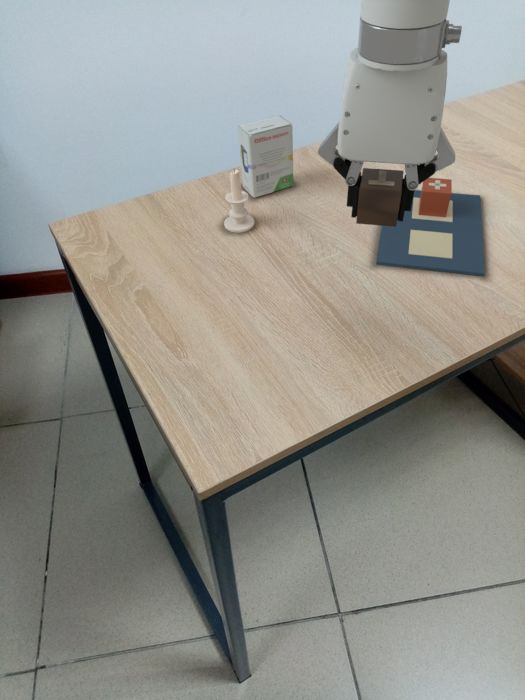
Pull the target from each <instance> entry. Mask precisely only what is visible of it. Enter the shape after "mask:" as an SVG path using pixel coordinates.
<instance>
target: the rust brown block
mask: <svg viewBox="0 0 525 700" xmlns="http://www.w3.org/2000/svg"><path fill="white" fill-rule="evenodd" d="M452 182H453V181H452V179H451V178H438V177H437V178H436V177H429V178H428V179H426V180H425V181H423V182H422V186H421V190H420V191H421V196H420V201H419V214H418V215H426V216H437V217H446V215H447V210H448V206H449V202H450V198H451V194H452V193H453V192H452V190H453V189H452V184H453V183H452Z"/></svg>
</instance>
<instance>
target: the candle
mask: <svg viewBox="0 0 525 700" xmlns="http://www.w3.org/2000/svg"><path fill="white" fill-rule="evenodd" d="M229 179H230V180H229V181H230V192H228V193H226V194H225V197H224V198H225V200H226V202H228V203H230V207H231V209H230V210H229V211H228V216H227V217H226V218H225V220H224V222H223V225H224V228H225V229H226V230H227V231H229V232H231V233H236V234H242V233H246V232H248V231H250V230H251V229H253V228H254V226H255V218H254V217H253V216H252V215H250V214H249V211H248V209H247V208H246V207H245V202H247V200H248V199H249V195H250V194H249V193H248V192H247V191H244V190H242V185H241V184H242V183H241V175H240V170H239V169H235V168H233V170H231V171H230V172H229Z"/></svg>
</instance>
